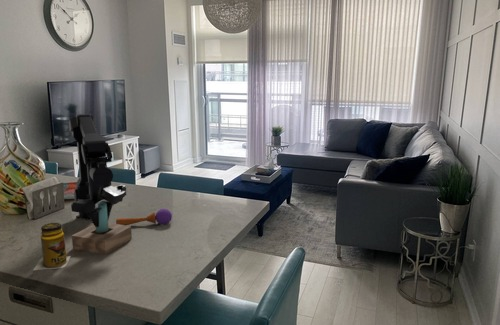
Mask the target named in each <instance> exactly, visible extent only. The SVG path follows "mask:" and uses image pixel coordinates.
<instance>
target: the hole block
mask: <svg viewBox="0 0 500 325" xmlns="http://www.w3.org/2000/svg"><path fill="white" fill-rule="evenodd" d="M108 227H109V230H108V231H106V232H101V233H99V232H96V229H95V225H94V224H93V225H90V226H88V227H86V228H84V229H82V230H80V231H78V232H76V233H74V234H72V235H71V242H72V244H71V245H72V250H73V249H74V250H79V251H84V252H90V253H94V254H100V255H108V254H110V253H111V252H112V251H114V250H116V249H118V248H119V247H121V246H122V245H124V244H125V243H127V242H129V241H130V240H132V239H133V236H132V235H133V234H132V226H131V225H119V224H116V223H112V222H108Z"/></svg>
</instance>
